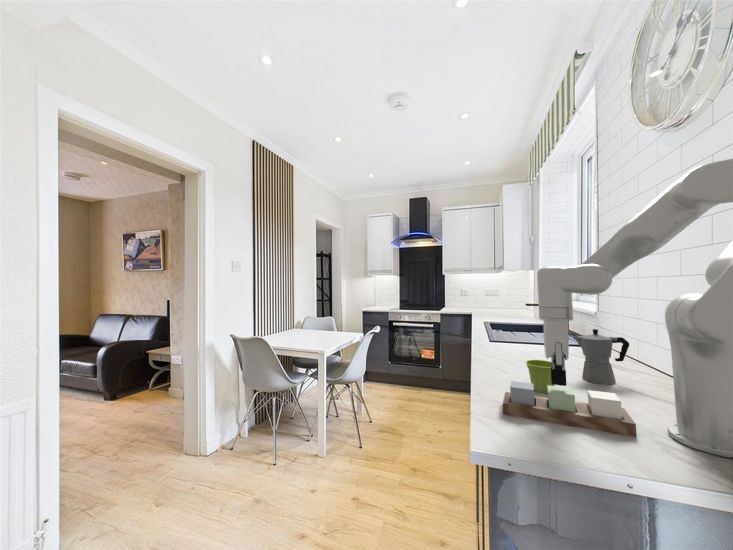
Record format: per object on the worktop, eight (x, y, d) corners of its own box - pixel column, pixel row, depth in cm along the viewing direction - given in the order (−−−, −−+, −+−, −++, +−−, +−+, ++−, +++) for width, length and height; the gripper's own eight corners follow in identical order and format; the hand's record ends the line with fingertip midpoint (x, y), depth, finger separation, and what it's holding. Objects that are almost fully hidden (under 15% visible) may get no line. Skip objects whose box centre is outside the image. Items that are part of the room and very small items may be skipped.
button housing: (624, 420, 72) (624, 408, 72) (636, 437, 64) (635, 424, 64) (505, 402, 85) (505, 391, 85) (503, 414, 77) (502, 403, 77)
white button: (616, 413, 71) (615, 393, 72) (622, 423, 67) (621, 401, 67) (588, 409, 74) (587, 390, 74) (592, 418, 69) (591, 397, 70)
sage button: (573, 407, 76) (571, 388, 76) (575, 415, 71) (574, 395, 71) (548, 403, 78) (547, 385, 79) (549, 411, 74) (548, 391, 74)
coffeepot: (575, 381, 102) (572, 329, 102) (575, 374, 109) (572, 326, 110) (634, 389, 93) (630, 332, 94) (629, 380, 101) (625, 328, 101)
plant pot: (559, 387, 96) (557, 361, 96) (561, 397, 88) (559, 368, 88) (527, 383, 101) (525, 358, 101) (526, 392, 93) (524, 365, 93)
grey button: (534, 401, 80) (533, 383, 80) (534, 409, 75) (533, 389, 76) (512, 398, 83) (511, 381, 83) (511, 405, 78) (510, 386, 78)
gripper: (538, 311, 84) (541, 374, 84) (539, 316, 71) (543, 391, 71) (569, 311, 81) (572, 378, 80) (576, 317, 68) (580, 396, 67)
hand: (558, 384), depth 75 cm, fingers closed
